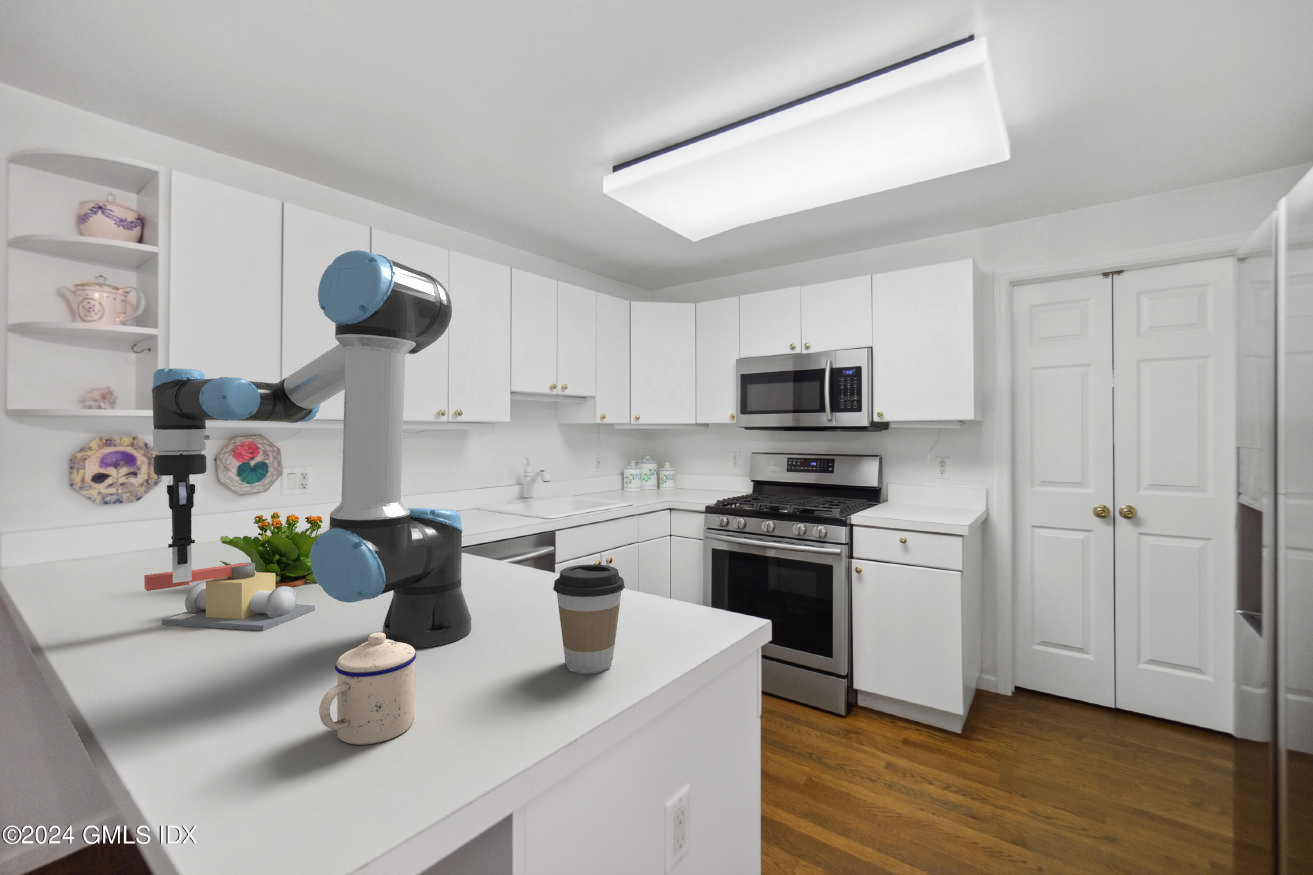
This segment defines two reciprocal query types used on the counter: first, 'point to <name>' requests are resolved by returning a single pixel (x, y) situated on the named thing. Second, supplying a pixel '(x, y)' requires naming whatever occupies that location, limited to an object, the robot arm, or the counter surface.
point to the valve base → (239, 604)
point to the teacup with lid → (372, 692)
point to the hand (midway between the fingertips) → (182, 580)
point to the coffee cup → (589, 615)
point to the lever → (200, 575)
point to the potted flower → (280, 549)
